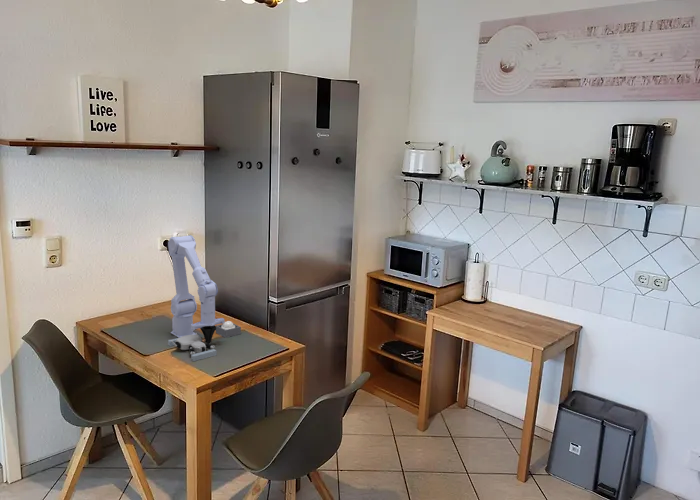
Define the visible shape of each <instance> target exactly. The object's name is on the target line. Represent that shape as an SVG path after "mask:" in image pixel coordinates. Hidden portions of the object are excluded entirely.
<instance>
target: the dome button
mask: <svg viewBox="0 0 700 500" xmlns="http://www.w3.org/2000/svg"><path fill="white" fill-rule="evenodd" d="M233 323H234V322H233V321H230V320H227V321H225V323H224V324H223V325H222V324H221V325H222V326H221V328H223V329H225V330H228V329H232V328H235V325H233Z"/></svg>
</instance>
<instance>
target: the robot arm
mask: <svg viewBox="0 0 700 500" xmlns="http://www.w3.org/2000/svg"><path fill="white" fill-rule="evenodd" d="M167 248H168V254H169V256H170V257H171V261H172V270H173V277H174V284H175V285H174V286H175V292H176V293H175V295H174V297H173V298H171V300H170V302H171V304H170V311H171V314H172V315H173V316H172V318H171V320H172V331H170V334H172V335H174V336H175V337H176V338H180V337H182V336H186V335H196V333H197V332H194V331H195V330H197V329H198V330H199V329H200V331H201V332H202V334H203V337H204V341H205V342H204V343H205V344H207V343H209V344H212V339H213V337H214V334H215V333H216V326H217V325H222V324H224V323H225V322H226V321H225V318H224V317H220V318H216V296H217V295H218V294H219V293H218V292H219V288H218V285H217V283H216V282H214V280H212V279H211V277H210V276H209V274H208V271H207V270H206V268H205V267H203V266H202V264H201V261H200V259H199V256H198V253H197V251H196V248H197V242H196V238H195V237H194V236H193V235H191V234H190V235H184V236H183V235H182V236H171V237H170V238H169V240H168V241H167ZM185 258H186V259H185ZM185 260H187V262H188V263H189V266H190V267H191V269H192V270H193V271H192V277H193V279H194V281H195V283H196V285H197V295H198V300H199V302H200V320H199V321H198V322H194V321H193V319H194V315H195V313H196V312H197V310H198V304H197V302H196V298H195V296H194V295H193V294H192V293H191V292H190V291H189V285H188V277H187V275H188V274H187V270H186V269H187V267H186V261H185Z"/></svg>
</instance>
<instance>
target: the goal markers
mask: <svg viewBox="0 0 700 500" xmlns="http://www.w3.org/2000/svg"><path fill="white" fill-rule="evenodd" d="M177 339H178V337H176V338H173V339H168V340H167V346H169V347H174V346H175V345H174V344H173V342H174V343H175V342H176V340H177ZM171 340H172V341H173V342H171ZM217 353H218V352H217V350H216V349H215V348H213V349H208V350H206V351H204V352H200V353H197V354H193V355H191V354H190V360H191V361H192V362H195V361H199V360H200V361H201V360H203V359H206V358H207V359H208V358H210V357H215V356H217V355H218V354H217Z"/></svg>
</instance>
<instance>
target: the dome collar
mask: <svg viewBox="0 0 700 500" xmlns="http://www.w3.org/2000/svg"><path fill="white" fill-rule="evenodd" d="M232 323H233V325H235V328H232V329H228V330H225V329H223V328H221V326H222V325H223V324H222V323H221V324H216V325H215V326H216V330H215V334H217V335H219V336H221V337H223V338H225V339H227V338H230V337H234V336H238V335H241V334H242V327H241V326H240V325H238V324H236V323H234V322H232Z"/></svg>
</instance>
